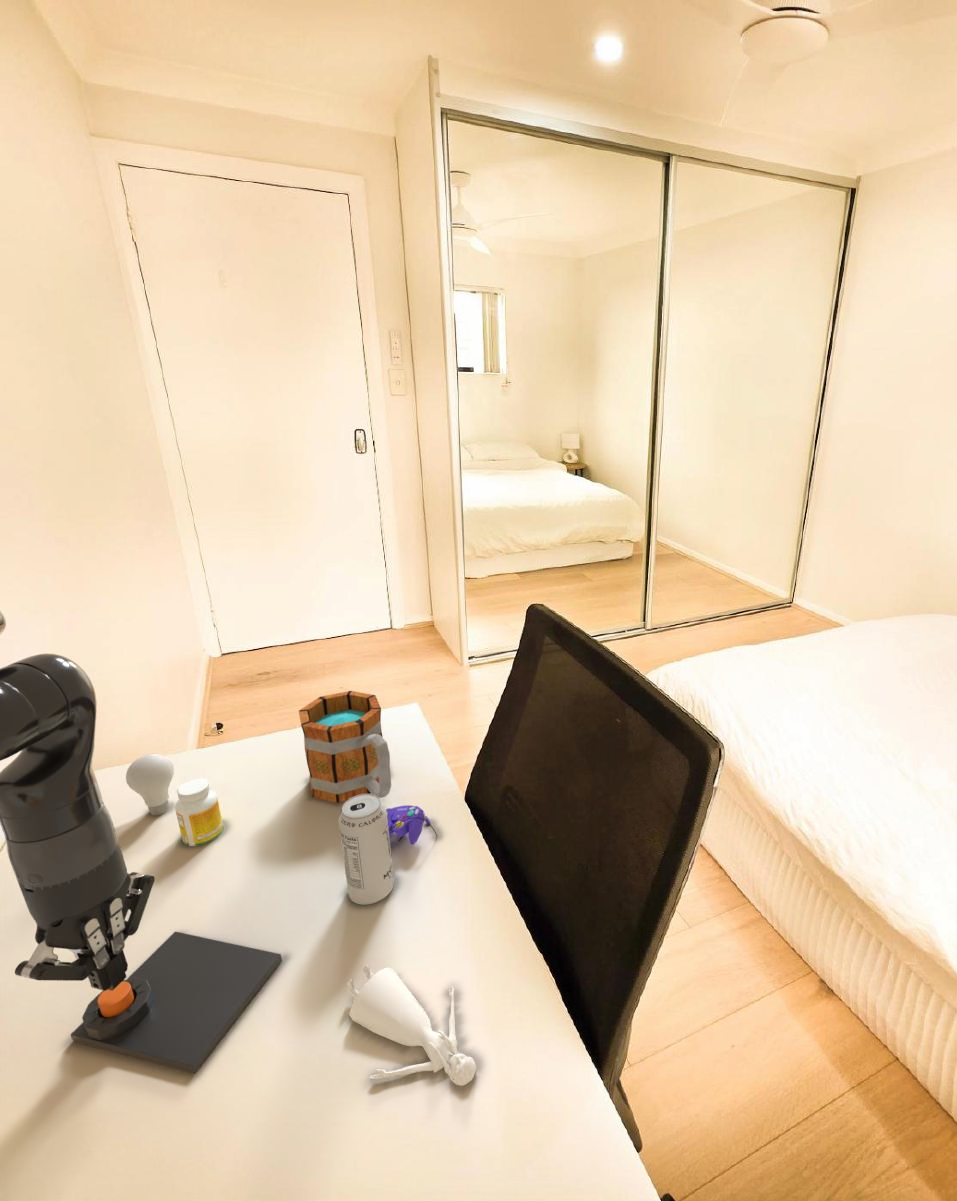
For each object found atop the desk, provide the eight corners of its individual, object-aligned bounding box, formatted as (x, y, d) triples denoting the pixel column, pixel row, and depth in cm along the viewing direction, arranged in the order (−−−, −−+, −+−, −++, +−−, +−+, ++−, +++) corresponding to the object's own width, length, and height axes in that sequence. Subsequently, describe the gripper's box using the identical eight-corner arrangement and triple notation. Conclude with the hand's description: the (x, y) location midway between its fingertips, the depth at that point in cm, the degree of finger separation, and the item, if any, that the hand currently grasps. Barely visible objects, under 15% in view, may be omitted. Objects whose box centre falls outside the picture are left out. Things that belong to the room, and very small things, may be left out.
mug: (293, 785, 105) (281, 711, 100) (362, 752, 115) (354, 683, 110) (354, 835, 94) (343, 755, 89) (424, 793, 104) (419, 719, 99)
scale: (74, 1047, 63) (65, 1024, 62) (178, 942, 75) (172, 921, 74) (196, 1078, 60) (189, 1055, 59) (283, 965, 73) (279, 944, 71)
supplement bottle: (175, 849, 90) (162, 797, 86) (198, 825, 95) (186, 775, 91) (211, 850, 90) (198, 798, 86) (232, 826, 95) (221, 776, 92)
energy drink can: (398, 899, 82) (389, 811, 77) (353, 916, 79) (340, 826, 74) (389, 870, 87) (380, 785, 82) (346, 885, 84) (333, 799, 79)
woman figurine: (397, 929, 73) (510, 1015, 64) (398, 954, 74) (508, 1042, 66) (310, 1007, 63) (429, 1120, 55) (313, 1034, 65) (430, 1148, 57)
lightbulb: (174, 797, 101) (160, 742, 97) (189, 812, 97) (176, 755, 94) (131, 816, 96) (115, 759, 92) (146, 832, 93) (130, 773, 89)
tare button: (94, 1014, 63) (90, 1003, 62) (119, 990, 66) (115, 979, 65) (116, 1020, 63) (112, 1008, 62) (140, 995, 65) (137, 984, 65)
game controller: (346, 842, 87) (378, 790, 95) (372, 877, 91) (401, 823, 99) (403, 838, 84) (431, 784, 93) (427, 874, 88) (452, 819, 96)
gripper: (102, 805, 64) (138, 925, 70) (-44, 901, 52) (15, 1038, 58) (161, 815, 63) (193, 937, 69) (26, 917, 51) (79, 1054, 56)
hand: (112, 983), depth 63 cm, fingers closed
